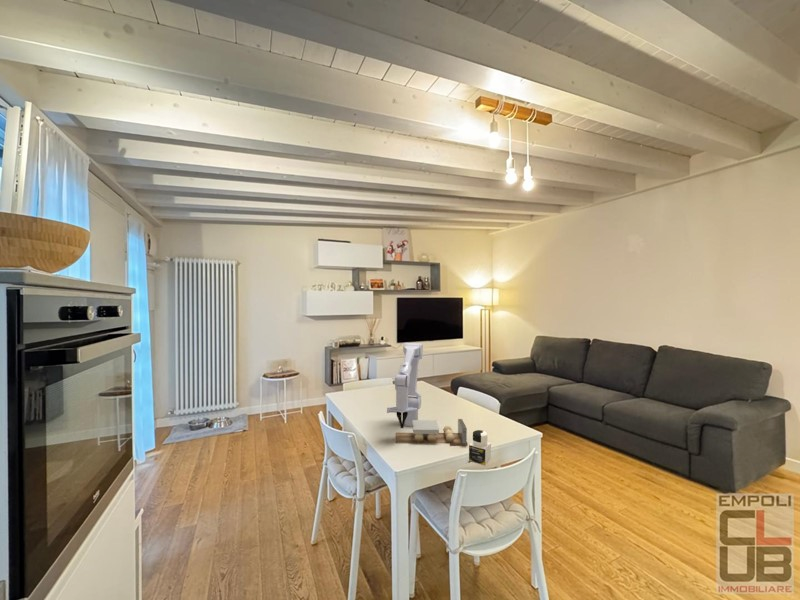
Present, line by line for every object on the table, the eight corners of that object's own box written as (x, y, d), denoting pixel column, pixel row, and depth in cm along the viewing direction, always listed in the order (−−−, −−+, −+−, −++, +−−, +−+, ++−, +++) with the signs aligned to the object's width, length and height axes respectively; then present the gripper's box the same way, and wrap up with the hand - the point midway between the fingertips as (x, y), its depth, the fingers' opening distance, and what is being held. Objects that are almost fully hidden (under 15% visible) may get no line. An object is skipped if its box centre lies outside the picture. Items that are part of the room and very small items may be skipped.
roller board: (395, 434, 168) (396, 418, 168) (462, 435, 168) (463, 419, 168) (395, 445, 156) (395, 427, 156) (467, 445, 156) (467, 428, 156)
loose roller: (442, 433, 167) (443, 425, 167) (450, 434, 167) (451, 426, 167) (445, 441, 157) (446, 433, 157) (453, 443, 157) (455, 434, 157)
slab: (412, 424, 168) (412, 420, 168) (436, 424, 168) (436, 420, 168) (413, 433, 156) (413, 429, 156) (438, 433, 156) (438, 429, 156)
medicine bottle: (468, 461, 141) (468, 432, 141) (475, 454, 147) (475, 427, 147) (485, 466, 137) (485, 436, 137) (491, 459, 143) (491, 431, 143)
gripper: (386, 401, 158) (386, 430, 158) (417, 401, 158) (417, 430, 158) (387, 397, 165) (387, 424, 165) (416, 397, 165) (416, 425, 165)
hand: (401, 427), depth 162 cm, fingers closed
